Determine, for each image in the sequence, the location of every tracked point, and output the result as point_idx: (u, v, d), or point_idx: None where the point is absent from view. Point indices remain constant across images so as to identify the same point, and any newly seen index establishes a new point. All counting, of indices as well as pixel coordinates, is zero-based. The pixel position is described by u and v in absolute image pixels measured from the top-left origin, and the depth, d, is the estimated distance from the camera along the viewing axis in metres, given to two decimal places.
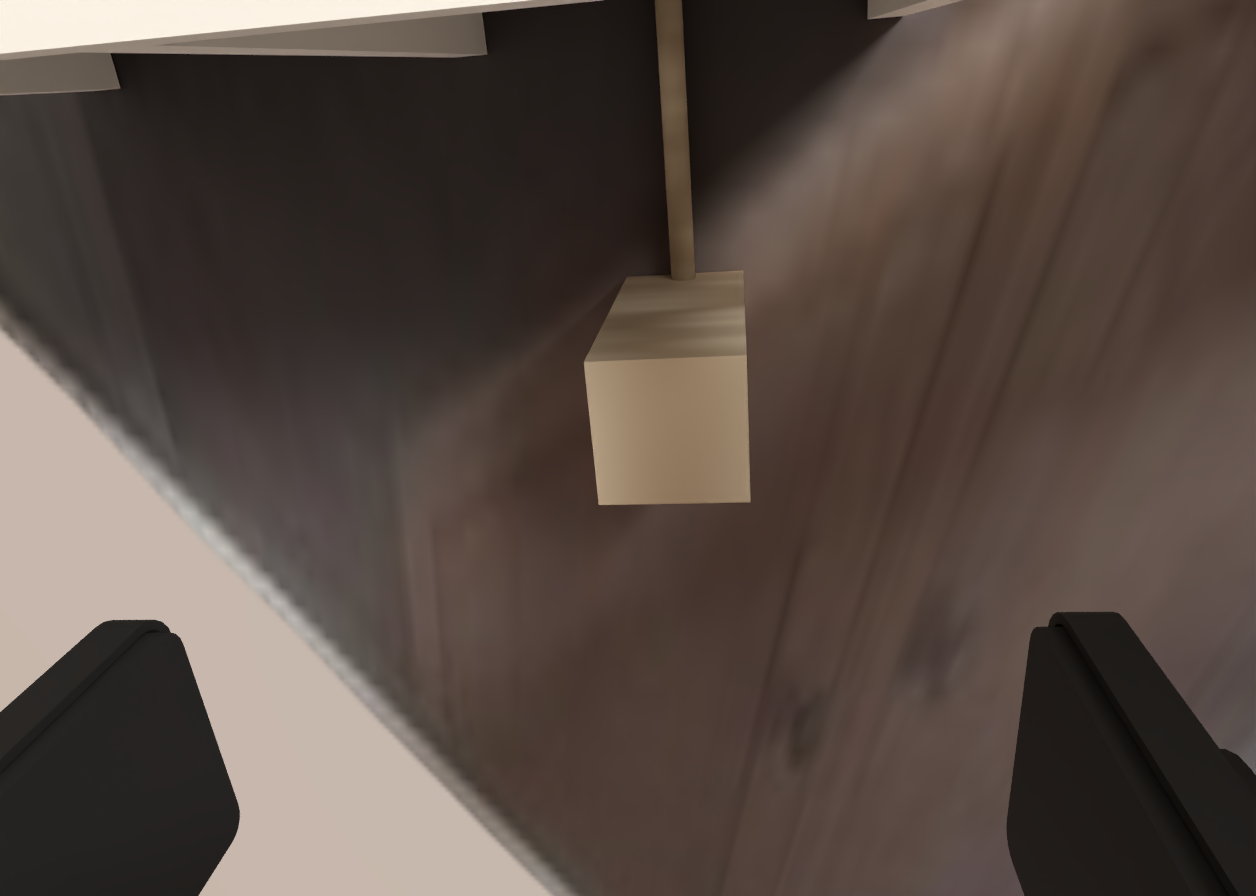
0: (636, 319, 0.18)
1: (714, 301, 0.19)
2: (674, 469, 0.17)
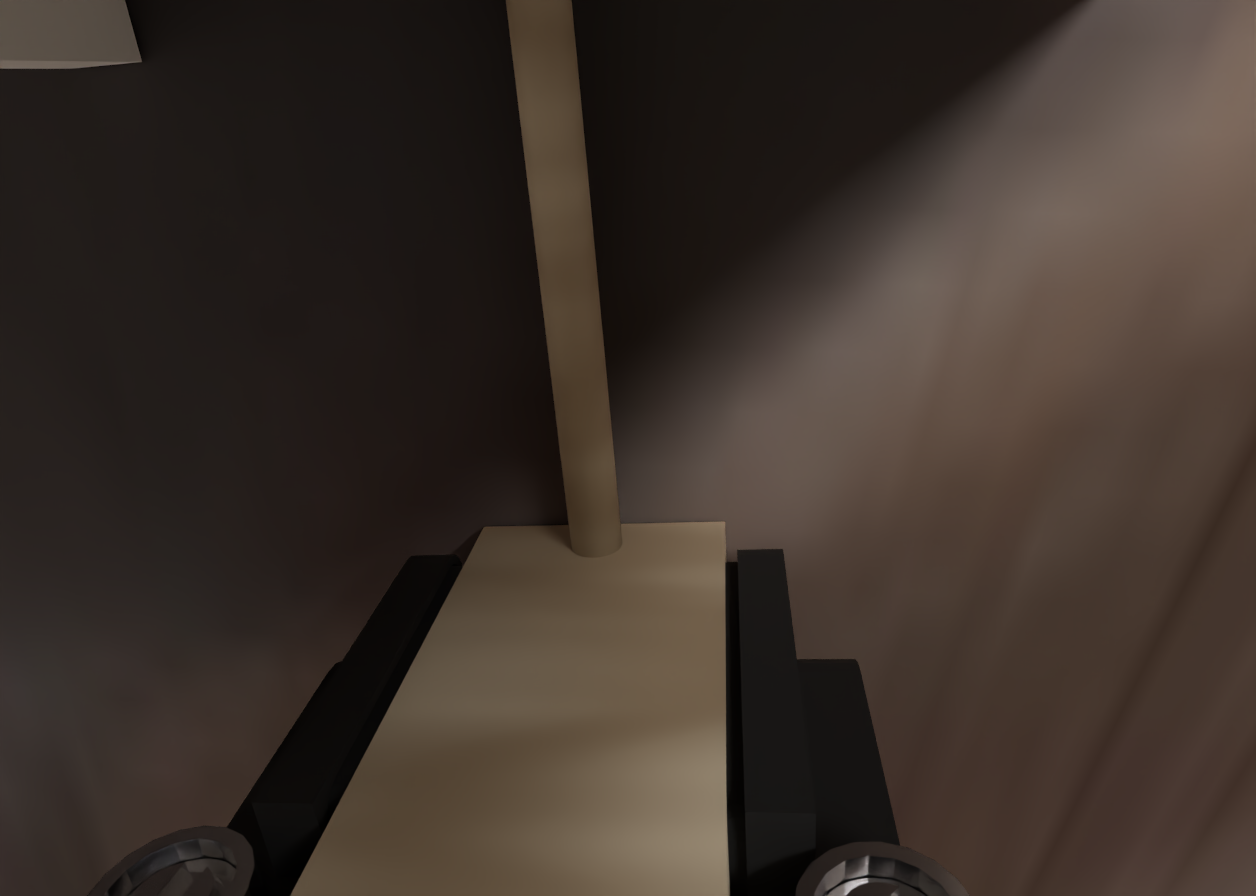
0: (434, 779, 0.07)
1: (651, 682, 0.08)
2: None
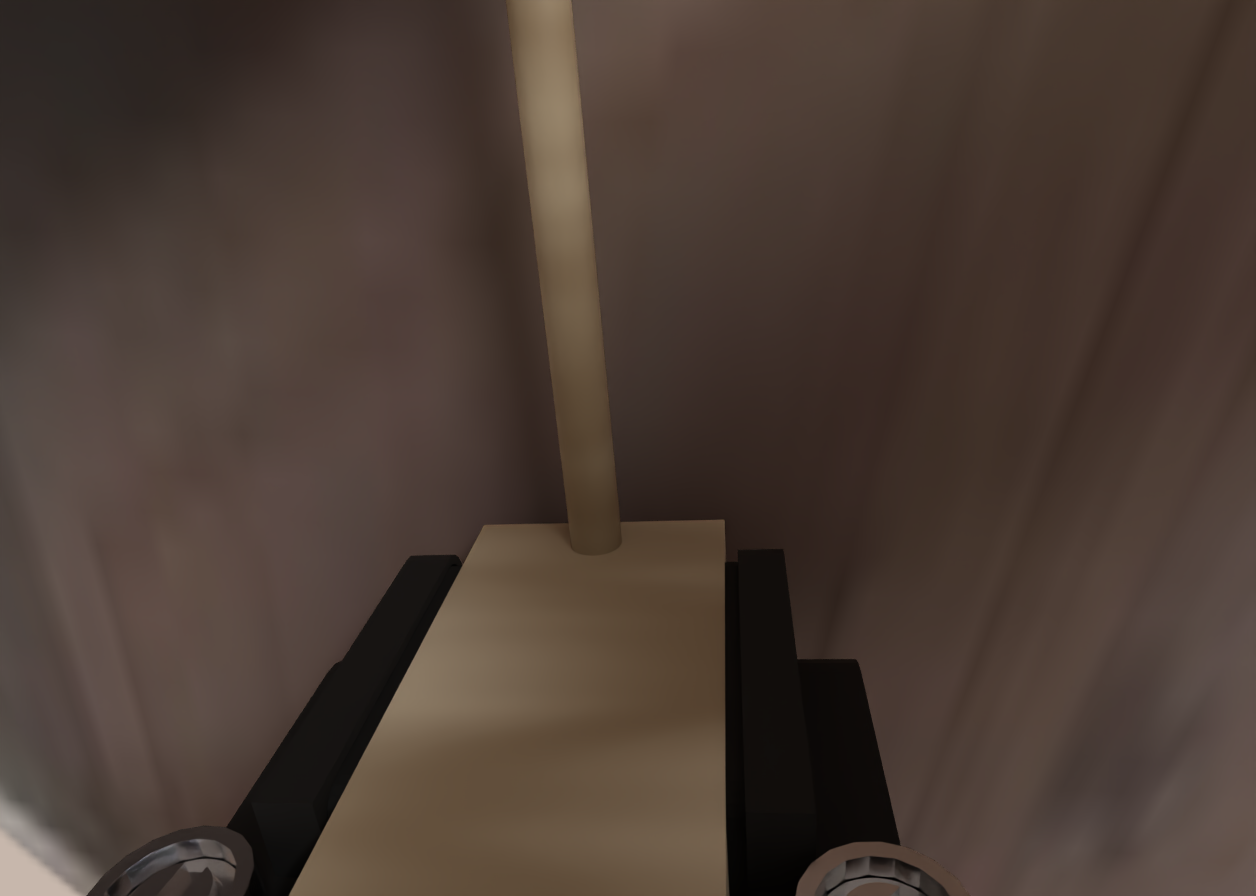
0: (433, 775, 0.07)
1: (650, 679, 0.08)
2: None
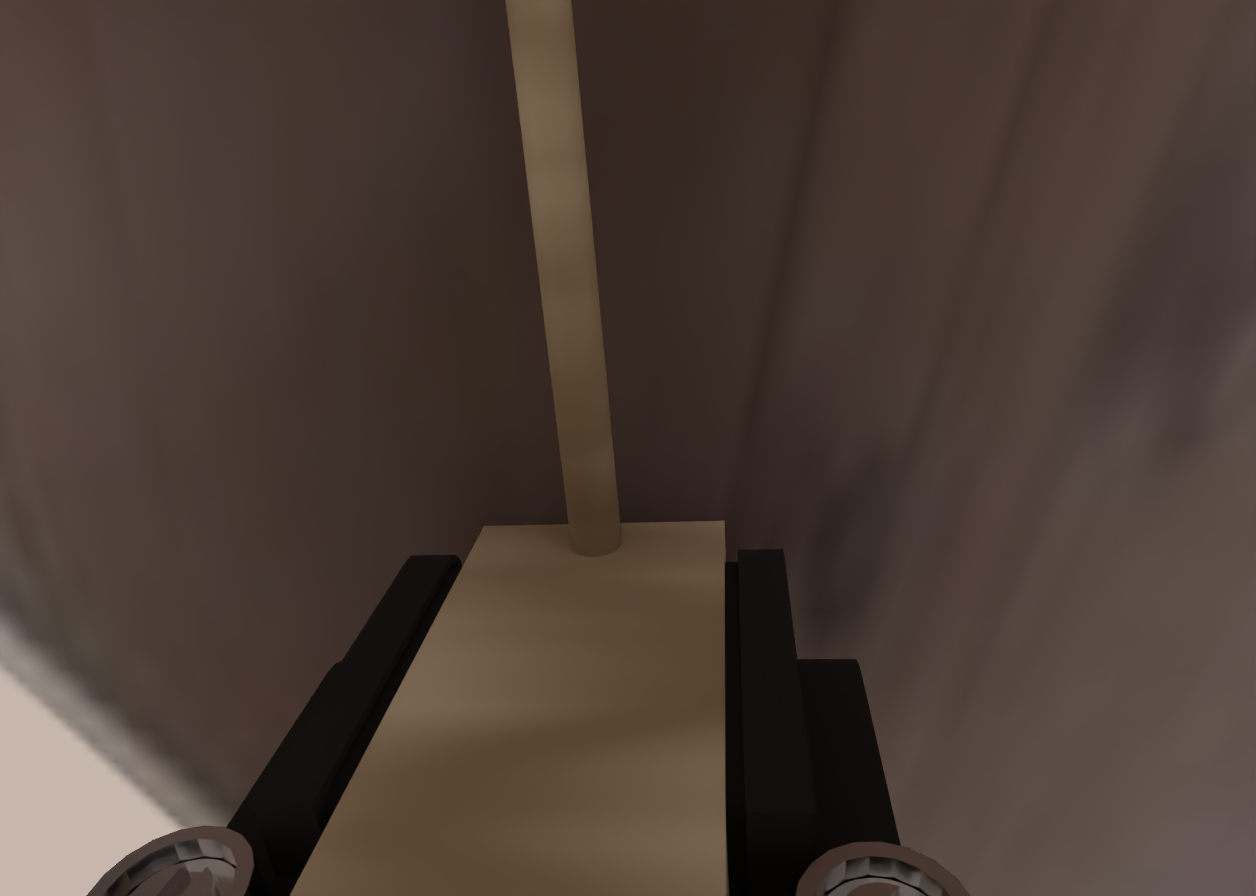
0: (433, 778, 0.07)
1: (650, 680, 0.08)
2: None
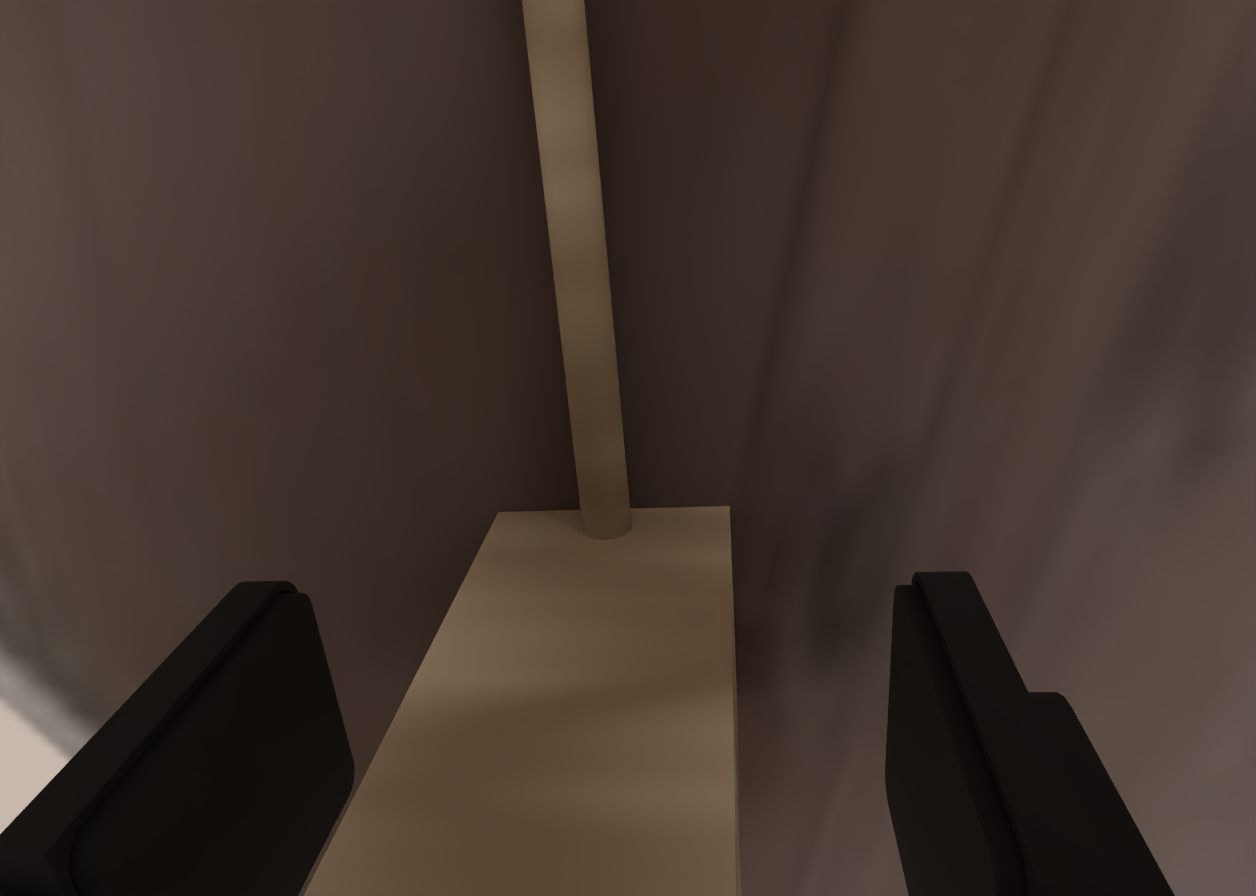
0: (459, 742, 0.07)
1: (661, 652, 0.08)
2: None
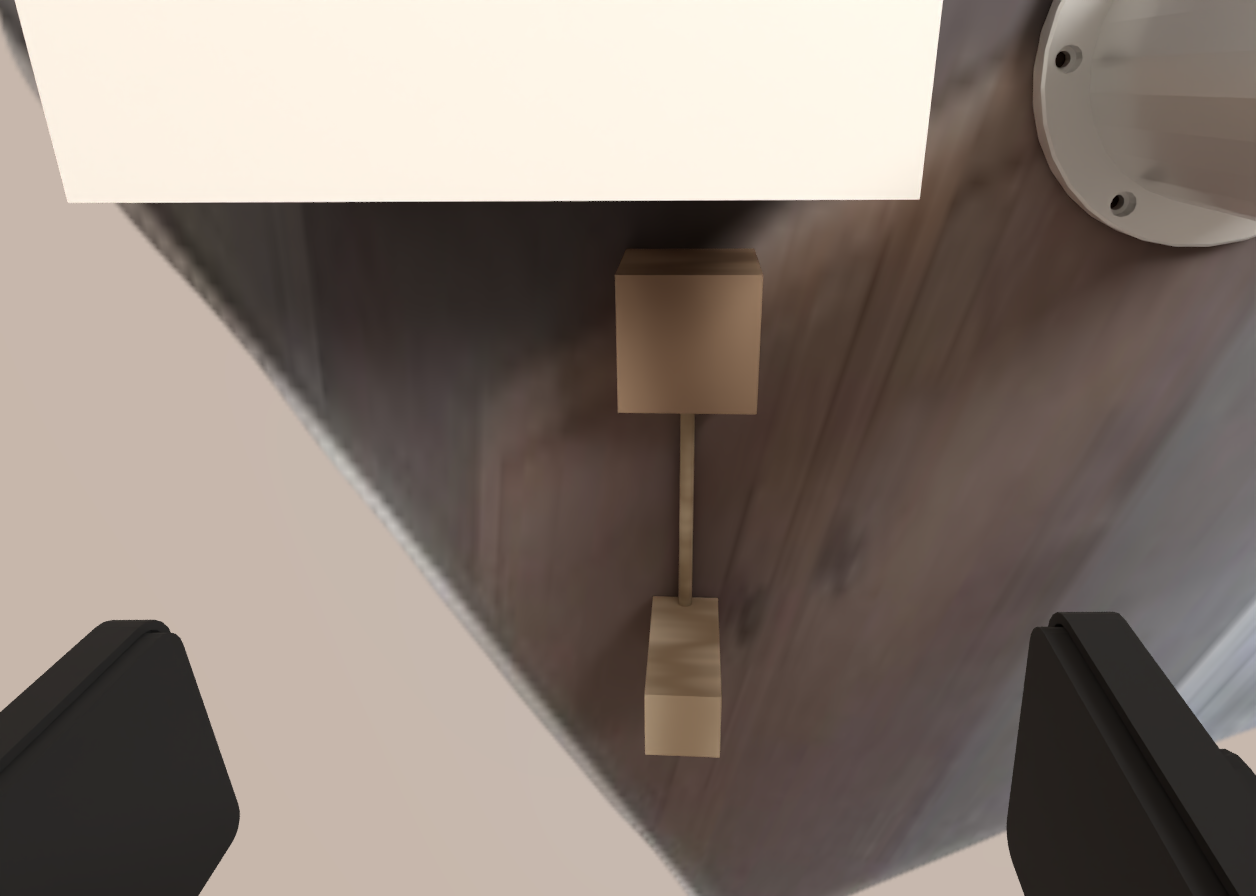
0: (664, 651, 0.36)
1: (703, 635, 0.37)
2: (684, 741, 0.34)
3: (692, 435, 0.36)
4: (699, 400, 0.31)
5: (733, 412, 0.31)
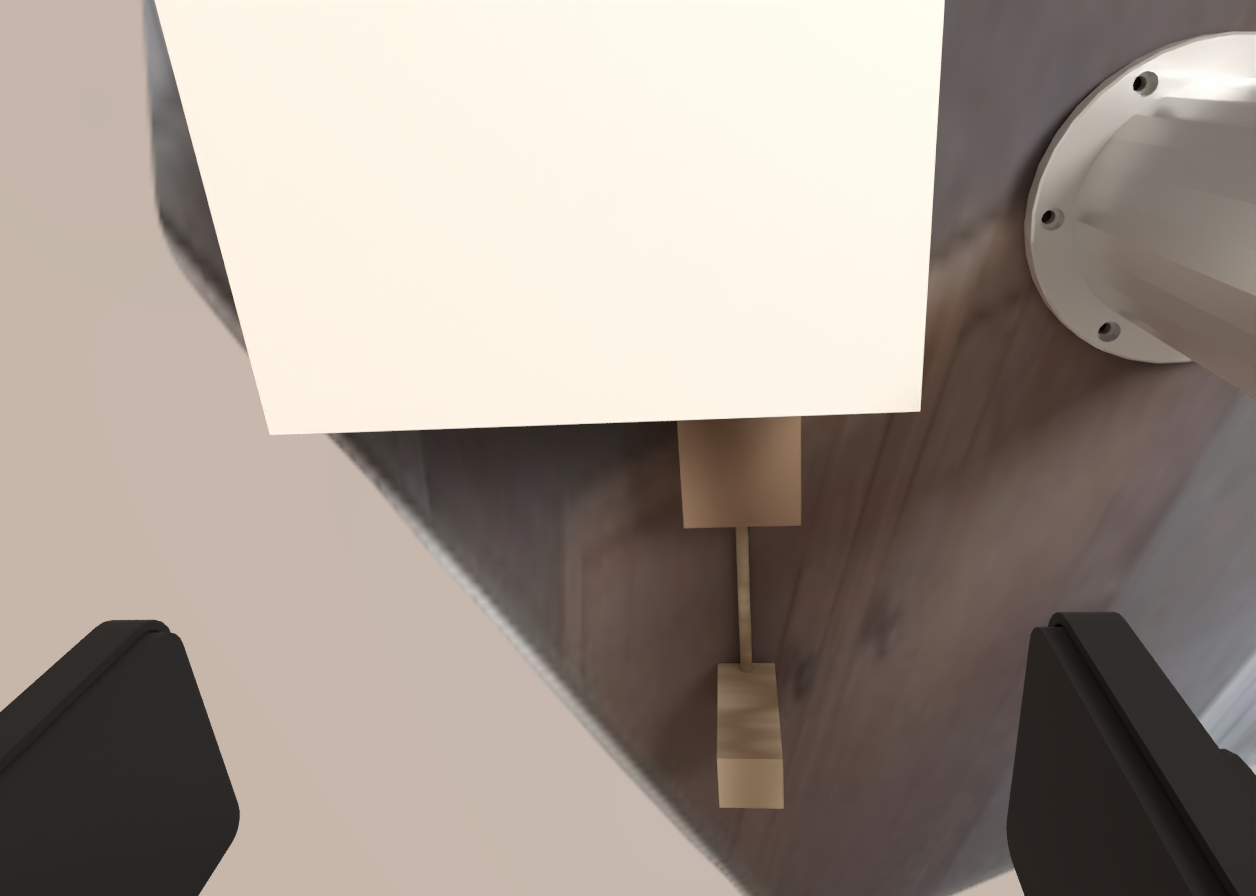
0: (731, 717, 0.42)
1: (764, 700, 0.43)
2: (752, 796, 0.40)
3: (746, 531, 0.42)
4: (752, 516, 0.37)
5: (781, 524, 0.37)
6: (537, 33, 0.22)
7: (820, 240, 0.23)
